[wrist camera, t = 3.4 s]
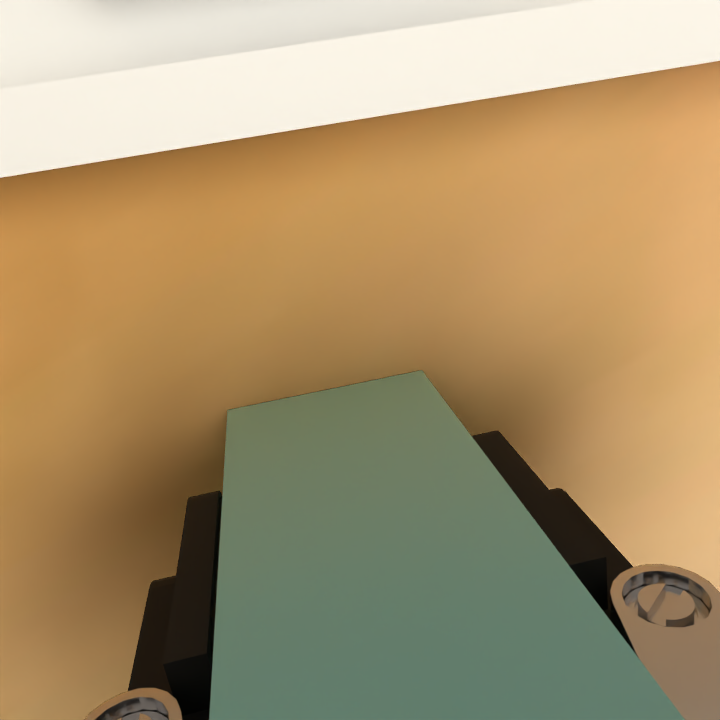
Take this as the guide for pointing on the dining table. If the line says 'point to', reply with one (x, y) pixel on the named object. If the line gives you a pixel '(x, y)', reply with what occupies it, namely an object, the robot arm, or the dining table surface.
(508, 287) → the dining table surface
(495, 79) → the walled box
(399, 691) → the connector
